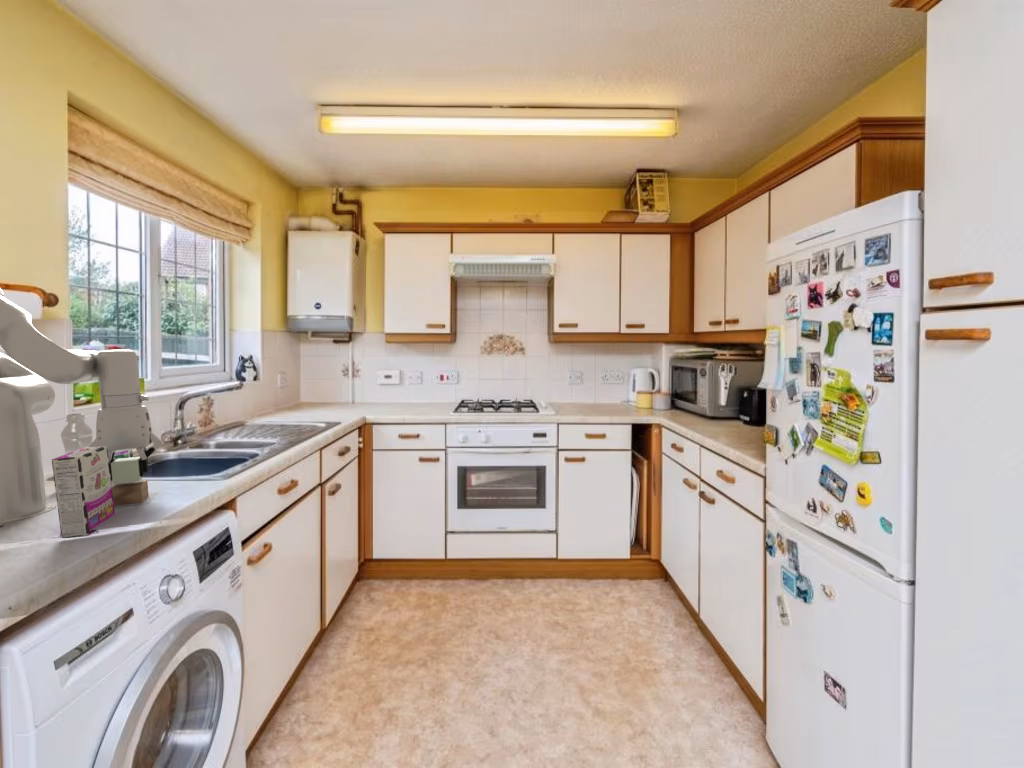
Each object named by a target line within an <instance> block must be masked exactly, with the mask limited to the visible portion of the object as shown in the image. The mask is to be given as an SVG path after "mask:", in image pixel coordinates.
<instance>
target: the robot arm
mask: <svg viewBox="0 0 1024 768" xmlns="http://www.w3.org/2000/svg"><path fill="white" fill-rule="evenodd" d="M32 321H33V316H32V314H31V313H30V312H28V311H27V310H25V309H24V308H22V307H20V305H19V306H18V305H17V304H15V303H14V302H12V301H10V300H9V299H7V298H6V297H5V293H4V291H3V290H2V288H1V287H0V349H1V350H2V351H3V352H4V353H2V352H0V527H1V526H6V525H7V524H9V523H10V522H13V521H19V520H25V519H28V518H32V517H36V516H40V515H43V514H46V513H48V512H50V511H53V510H55V509H56V508H57V504H55V503H51V502H47V495H46V493H47V492H46V486H45V485H46V484H45V476H44V469H43V468H44V467H43V465H44V464H43V459H42V457H43V456H42V449H41V441H40V440H41V439H40V433H39V429H38V427H37V425H36V422H35V420H34V418H33V416H36V415H39V414H41V413H43V412H45V411H47V410H49V409H50V408H51V407H52V406H53V404H54V402H55V400H56V399H55V398H56V393H55V389H54V388H53V386H52V385H51V384H50V382H51V383H55V384H60V385H70V384H71V385H72V384H77V383H79V384H80V383H86V382H92V381H97V382H98V389H99V401H100V408H99V409H98V410H97V414H96V424H95V425H96V428H95V439H94V440H92V444H91V445H90V446H89V447H96V446H97V447H98V446H107V450H108V459H109V468H110V476H111V480H112V471H111V463H112V462H113V461H114V455H115V451H116V450H127V449H132V450H135V449H136V452H137V453H138V455H139V456H138V457H140V460H139V471H140V476H141V477H143V476H144V477H145V476H146V475H147V473H148V472H149V471H150V470H149V461H148V459H149V457H150V456H151V455H152V454H153V453H154V452H155V451H156V450H157V449H158V450H159V448H160V447H162V446H163V445H164V441H162V439H160V438H159V437H158V436H157V435H155V434H154V433H153V429H152V422H151V419H150V414H149V413H150V412H149V411H148V407H147V405H142V404H143V403H144V402H148V401H149V395H144V394H142V392H141V386H140V385H141V384H140V374H139V364H138V355H137V353H136V352H135V351H134V350H133V349H132V350H131V349H105V350H99V351H98V350H90V349H89V350H86V349H66V348H65V347H63V346H61V345H60V344H58V343H56V342H55V341H53V340H52V339H50V338H48V337H47V336H45V335H43V334H42V333H41V332H40V331H38V330H37V329H36V328H35V327H34V325H33V324H32V323H33V322H32ZM5 354H6V355H5ZM48 381H49V382H48ZM152 443H153V445H152V446H151V447H149V448H148V449H147V447H148V446H149V445H151V444H152ZM144 477H143V478H144Z"/></svg>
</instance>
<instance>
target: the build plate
mask: <svg viewBox="0 0 1024 768" xmlns="http://www.w3.org/2000/svg"><path fill="white" fill-rule="evenodd" d="M148 494H149V495H148V497H147V498H146V499H145V500H144V501H143V502H140V503H133V504H125V505H117V506H114V509H120V508H127V507H133V506H143V505H148V504H150V503H151V501H152V500H153V499H154V498H155V496H156V495H157V494H158V492H148Z"/></svg>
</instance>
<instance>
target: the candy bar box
mask: <svg viewBox="0 0 1024 768" xmlns="http://www.w3.org/2000/svg"><path fill="white" fill-rule="evenodd" d="M51 466H52V473H53V482H54V488H55V497H56V507H57V512H58V513H57V514H58V520H59V521H58V522H59V528H60V529H59V530H60V535H61V539H70V538H78V537H85V536H90V535H92V534H93V533H95V532H96V531H97V529H94V528H96V527H97V526H99V525H100V524H101V523H103V522H104V521H106V520H108V519H109V518H110V517H112V516H113V515H115V508H114V502H113V494H112V485H111V476H110V468H109V459H108V450H107V446H98V447H97V446H96V447H85V448H81V449H78V450H75V451H73V452H70V453H68V454H66V453H65V454H63V455H60V456H57V457H55V458H53V459H51Z"/></svg>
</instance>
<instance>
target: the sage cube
mask: <svg viewBox="0 0 1024 768" xmlns="http://www.w3.org/2000/svg"><path fill="white" fill-rule="evenodd" d="M139 460H140V456H133V457H130V458H121V459H116V460H115V461H113V462H112V463H111V471H112V480H113V484H120V483H128V482H136V481H140V480H143V478H144V477H145V476H143V477H141V476H140V471H139Z"/></svg>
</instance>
